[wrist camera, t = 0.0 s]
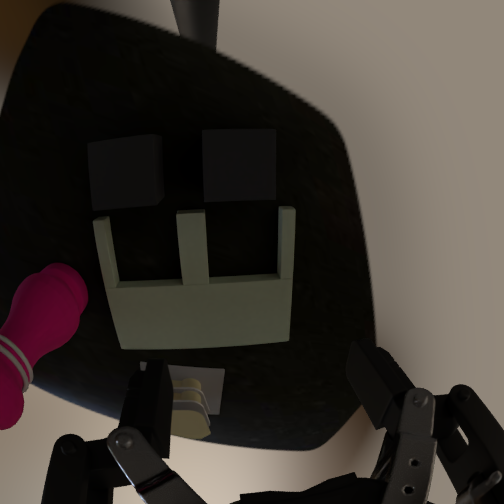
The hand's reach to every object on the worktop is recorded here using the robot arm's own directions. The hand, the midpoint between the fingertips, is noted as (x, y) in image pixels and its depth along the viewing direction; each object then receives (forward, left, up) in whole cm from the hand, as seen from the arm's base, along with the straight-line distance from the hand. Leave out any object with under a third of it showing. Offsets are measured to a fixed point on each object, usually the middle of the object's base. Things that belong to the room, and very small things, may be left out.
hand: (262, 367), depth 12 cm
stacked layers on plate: (+19, -7, -17) cm, 26 cm away
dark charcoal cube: (-7, -9, -16) cm, 20 cm away
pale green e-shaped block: (+4, -4, -16) cm, 17 cm away
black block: (-7, 0, -16) cm, 18 cm away
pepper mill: (+4, -19, -17) cm, 25 cm away
